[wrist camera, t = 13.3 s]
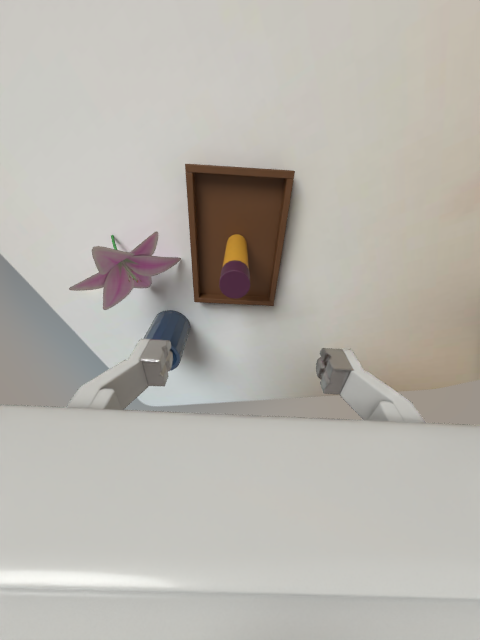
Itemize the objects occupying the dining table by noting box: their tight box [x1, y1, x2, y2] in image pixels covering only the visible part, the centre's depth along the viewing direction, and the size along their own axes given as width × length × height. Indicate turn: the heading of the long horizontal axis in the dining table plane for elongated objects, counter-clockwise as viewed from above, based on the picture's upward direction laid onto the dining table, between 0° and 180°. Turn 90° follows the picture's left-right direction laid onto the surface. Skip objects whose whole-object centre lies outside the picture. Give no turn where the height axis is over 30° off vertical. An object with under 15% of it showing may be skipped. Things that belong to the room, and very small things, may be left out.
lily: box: [69, 232, 181, 310], centre depth 28 cm, size 12×12×10 cm
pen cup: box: [143, 310, 190, 370], centre depth 35 cm, size 6×6×8 cm
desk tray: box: [185, 164, 295, 306], centre depth 29 cm, size 16×11×2 cm
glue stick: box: [219, 234, 250, 299], centre depth 25 cm, size 3×3×12 cm
